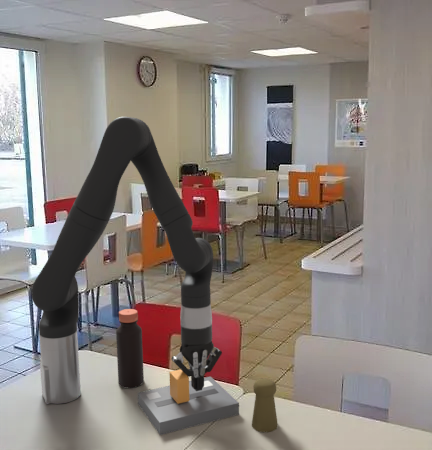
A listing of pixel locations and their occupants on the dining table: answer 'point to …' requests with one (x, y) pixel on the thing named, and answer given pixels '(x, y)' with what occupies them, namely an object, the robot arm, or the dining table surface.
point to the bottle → (129, 350)
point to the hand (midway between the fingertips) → (197, 389)
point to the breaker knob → (179, 386)
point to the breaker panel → (187, 407)
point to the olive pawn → (264, 406)
